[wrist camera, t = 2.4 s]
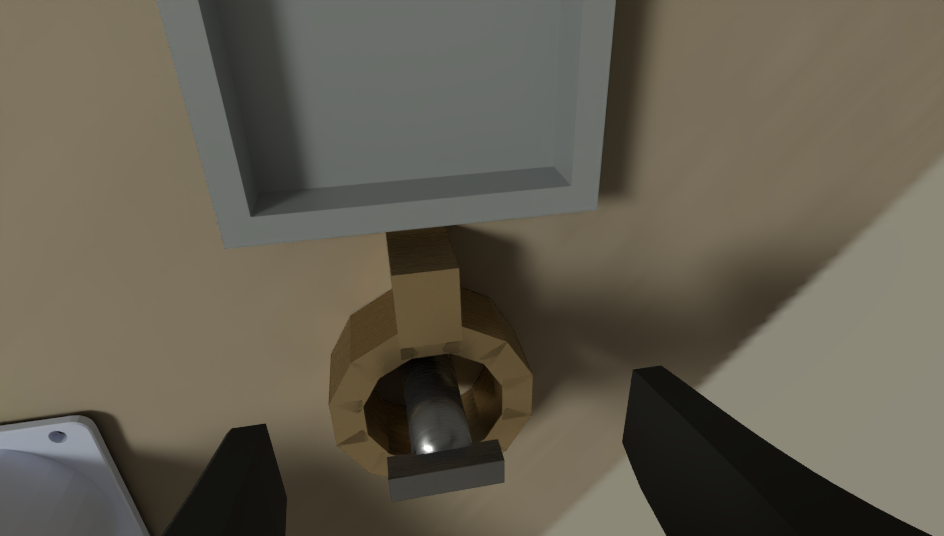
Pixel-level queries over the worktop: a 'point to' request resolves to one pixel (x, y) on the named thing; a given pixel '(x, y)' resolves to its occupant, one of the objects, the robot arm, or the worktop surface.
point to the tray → (391, 111)
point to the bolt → (439, 437)
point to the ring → (424, 353)
